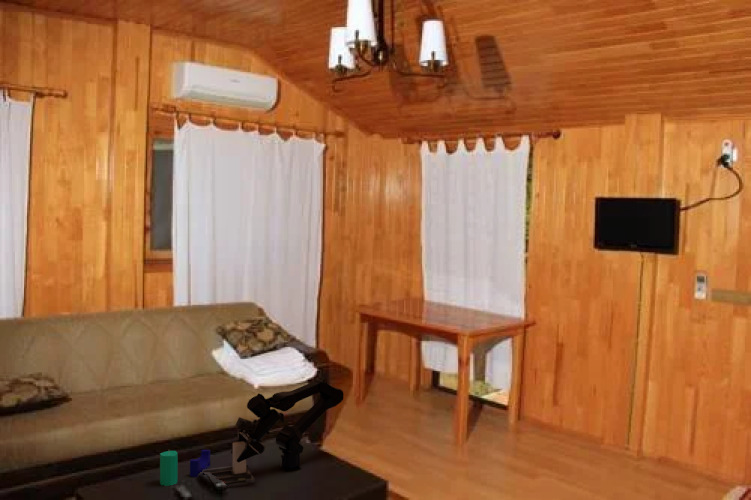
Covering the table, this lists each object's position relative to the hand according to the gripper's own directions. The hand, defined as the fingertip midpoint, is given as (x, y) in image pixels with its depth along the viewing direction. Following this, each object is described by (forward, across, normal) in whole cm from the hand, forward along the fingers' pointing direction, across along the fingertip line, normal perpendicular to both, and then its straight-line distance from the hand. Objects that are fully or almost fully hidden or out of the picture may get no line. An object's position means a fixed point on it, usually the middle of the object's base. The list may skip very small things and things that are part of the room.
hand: (234, 457), depth 242 cm
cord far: (+6, -8, +5) cm, 11 cm away
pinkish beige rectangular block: (+3, 0, +6) cm, 6 cm away
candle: (+21, -5, -10) cm, 24 cm away
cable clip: (+13, -13, -2) cm, 18 cm away
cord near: (+6, +8, +5) cm, 11 cm away
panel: (+6, 0, +5) cm, 8 cm away
